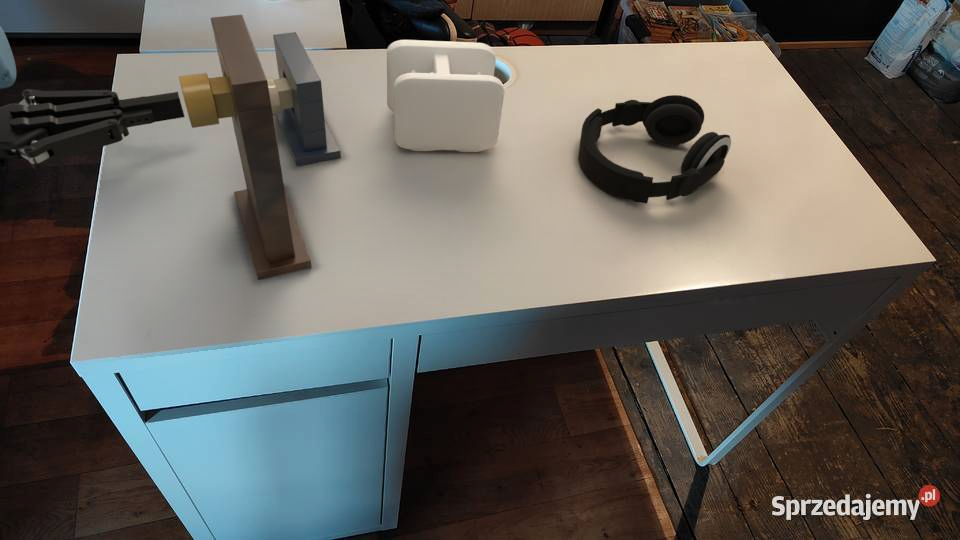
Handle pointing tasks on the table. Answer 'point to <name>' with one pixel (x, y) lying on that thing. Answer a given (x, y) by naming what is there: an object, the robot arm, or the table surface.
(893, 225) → the table surface
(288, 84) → the knob back
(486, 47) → the cable organizer
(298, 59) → the panel back
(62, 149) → the robot arm
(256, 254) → the panel front
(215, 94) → the knob front
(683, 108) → the headphones
